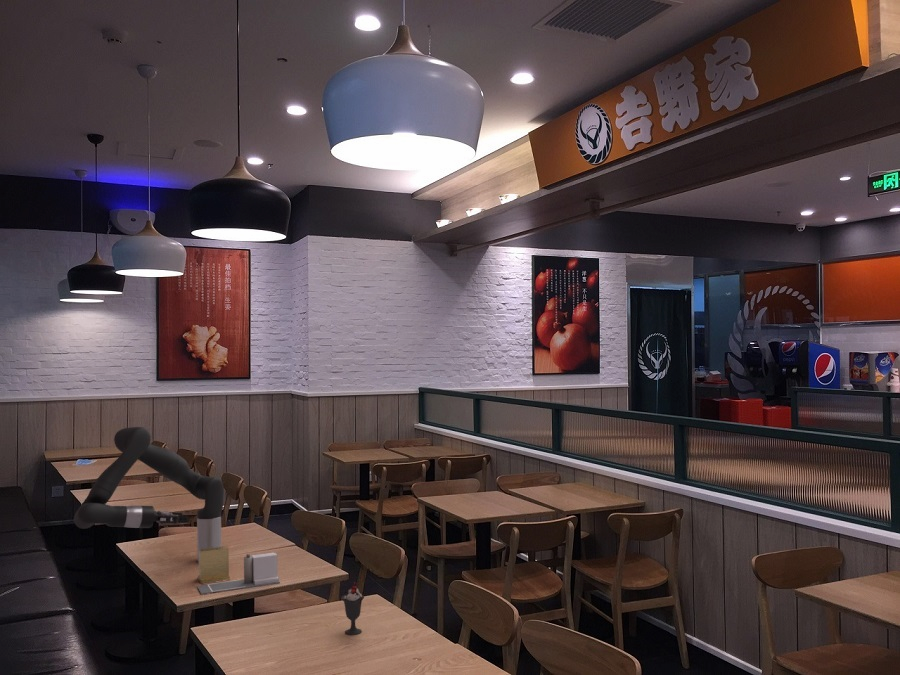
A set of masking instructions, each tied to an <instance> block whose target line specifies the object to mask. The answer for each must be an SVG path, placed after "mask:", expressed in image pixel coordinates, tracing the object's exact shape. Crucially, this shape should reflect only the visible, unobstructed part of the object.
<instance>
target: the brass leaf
mask: <svg viewBox="0 0 900 675" xmlns="http://www.w3.org/2000/svg"><path fill="white" fill-rule="evenodd" d="M229 554H230V552H229V547H228V546H227V545H223V546H222V545H221V547H213V548H205V549H199V562H198V575H197V579H198V581H199V580H200V581H199V583H200V582H201V583H200V584H201V585H203V584H202V583H206V584H210V583H209V582H213V583H217V582H216V581H220V582H224V581H223V580H227V581H231V576H230V567H229V566H230V565H229V563H230V561H229V559H230V556H229Z"/></svg>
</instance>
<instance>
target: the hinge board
mask: <svg viewBox="0 0 900 675" xmlns="http://www.w3.org/2000/svg"><path fill="white" fill-rule="evenodd" d="M269 584H271V585H278V584H281V582H280V578H279V576H278V554H277V553H276V552H269V553H268V552H267V553H260V554H253V555H251V554H250V553H247V554H246V555H245V556H244V557H243V578H242V579H235V580H227V581H220V582H213V583H206V584H201V585H197V586H196V588H197V589H199V590H198V591H200V592H199V593H200V595H201V594H204V595H208V594H207V593H210V594H214V593H213V592H217V593H221V592H220V591H224V592H229V591H230V590H231V591H236V590H243V589H250V588H257V586H258V587H263V586H262V585H264V586H269Z"/></svg>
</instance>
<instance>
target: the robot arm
mask: <svg viewBox="0 0 900 675" xmlns="http://www.w3.org/2000/svg"><path fill="white" fill-rule="evenodd" d="M151 437H152V436H151V434H150V430H148V429H147V428H145V427H142V426H133V427H125V428H121V429H120V430H118V431H116V433H115V434H114V437H113V438H114V439H113V443H114V445H115V447H116V448H117V449H118V450H119V451H120V452H121V453H120V455H119V456H118V458H116V459H115V460H114V461H113V462H112V463H111V464H110V465H108V467H106V468H105V469H104V470H103V472H101V474H100V475H98V478H97V479H96V481H95V482H94V484H93V486H92V487H91V489H90V491H89V493H88V495H87V497H86V498H85V499H84V501H83V502H82V504H81V505H80V506H79V508H78V510H76V512H75V514H74V517H73V522H74V525H75V526H76V527H77V528H79V529H83V530H84V529H89V528H91V527H93V526H94V525H95V524H103V525H106V526H108V527H110V528H113V527H116V528H122V527H123V528H130V529H131V528H135V529H137V528H139V529H150V528H152V527H153V525H154V522H156V523H158V524H175V525H176V524H178V523H189V521H190V516H189V515H183V512H171V511H169V510H155V507H154V506H153V505H109V504H108V502H109V501H110V499H111V497H112V496H113V494H115V491H116V490H117V488H118V487H119V485H120V483H121V481H122V480H123V478H125V476H126V474H127V473H128V472H129V471H130V469H131V468H132V467H133V466H134V465H135V463H136V462H137V461H139V462H142V463H143V464H145V465H146V466H147V467H149V468H151V469H152V470H154V471H155V472H157V473H158V474H160V475H162V476H164V477H165V478H167V479H168V480H170V481H171V482H173V483H175V484H177V485H179V486H181V487H183V488H184V489H185V490H186V491H188V492H189V493H190V494H191V495H192V496H194V497H195V498H197V499H199V500H204V506H203V507H202V508H201V509H198V510H197V512H196V526H197V527H196V528H197V530H196V531H197V532H196V536H197V537H196V539H197V542H196V543H197V544H196V546H197V547H196V549H197V551H196V552H197V553H196V554H197V555H196V557H197V560H196V561H197V562H198V563H199V549H205V548H213V547H221V546H222V511H223V508H224V496H225V495H224V494H225V493H224V492H225V490H224V484H223V481H222V479H221V478H220V477H215V476H206V475H202V474H199V473H197V472H195V471H194V470H192V469H191V467H190V466H189V464H188V462H187V460H186V459H185V458H183V456H180V455H179V454H177V453H176V452H174V451H172V450H170V449H167V448H164V447H160V446H157V445H154V444H151V441H152V440H151V439H152V438H151Z"/></svg>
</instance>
